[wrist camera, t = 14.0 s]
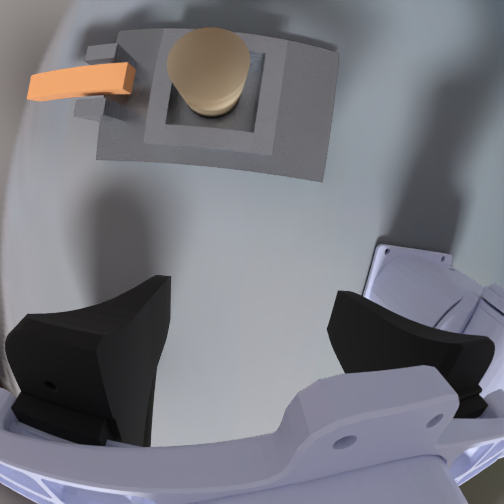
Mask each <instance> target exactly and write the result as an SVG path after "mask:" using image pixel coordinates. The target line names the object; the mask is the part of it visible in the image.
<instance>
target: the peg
mask: <svg viewBox="0 0 504 504" xmlns="http://www.w3.org/2000/svg"><path fill="white" fill-rule="evenodd" d="M249 67H250V53H249V50H248V48H247V46H246V44H245V43H244V41H243V40H242V39H241V38H240V37H239V36H238V35H236V34H235V33H233V32H231V31H229V30H226V29H223V28H218V27H205V28H200V29H196V30H193V31H191V32H189V33H187V34H185V35H184V36H182V37H181V38H180V39H179V40H178V41H177V42H176V43H175V44H174V46H173V47H172V49H171V50H170V52H169V55H168V59H167V72H168V75H169V78H170V80H171V81H172V83H173V84H174V86H175V87H176V89H177V90H178V91H179V93H180V94H181V96H182V97H183V99H184V100H185V102H186V103H187V105H188V106H189V107H190V109H191V110H192V111H193V112H194V113H195V114H197V115H198V116H200V117H203V118H207V119H217V118H221V117H224V116H226V115H228V114H229V113H231V112H232V111H233V110H234V109H235V108H236V106H237V105H238V102H239V100H240V96H241V93H242V90H243V87H244V83H245V80H246V77H247V74H248V71H249Z"/></svg>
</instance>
